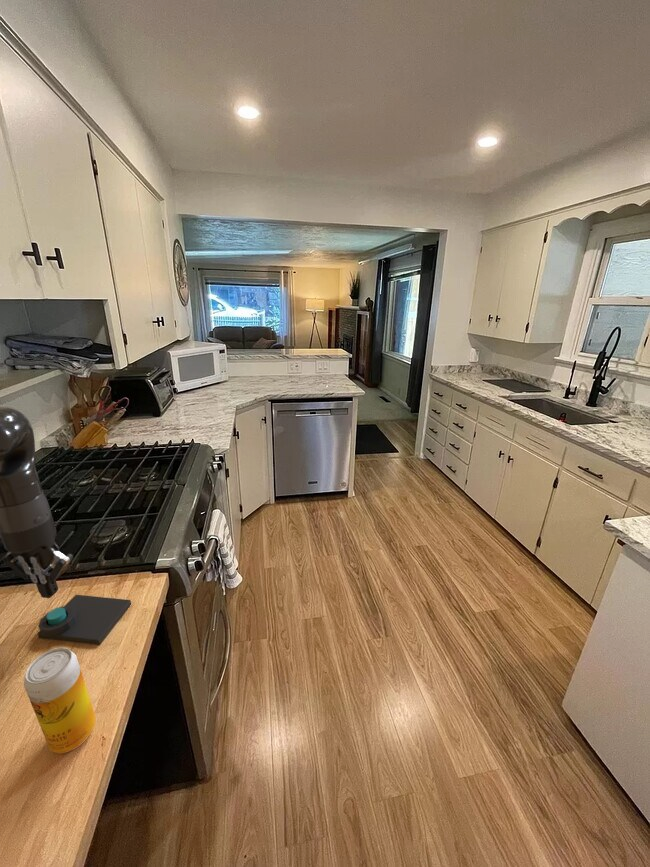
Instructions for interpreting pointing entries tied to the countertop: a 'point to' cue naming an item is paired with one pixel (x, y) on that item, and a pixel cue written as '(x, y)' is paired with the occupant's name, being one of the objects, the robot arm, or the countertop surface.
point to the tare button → (56, 616)
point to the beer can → (60, 699)
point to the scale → (86, 620)
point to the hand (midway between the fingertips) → (50, 594)
